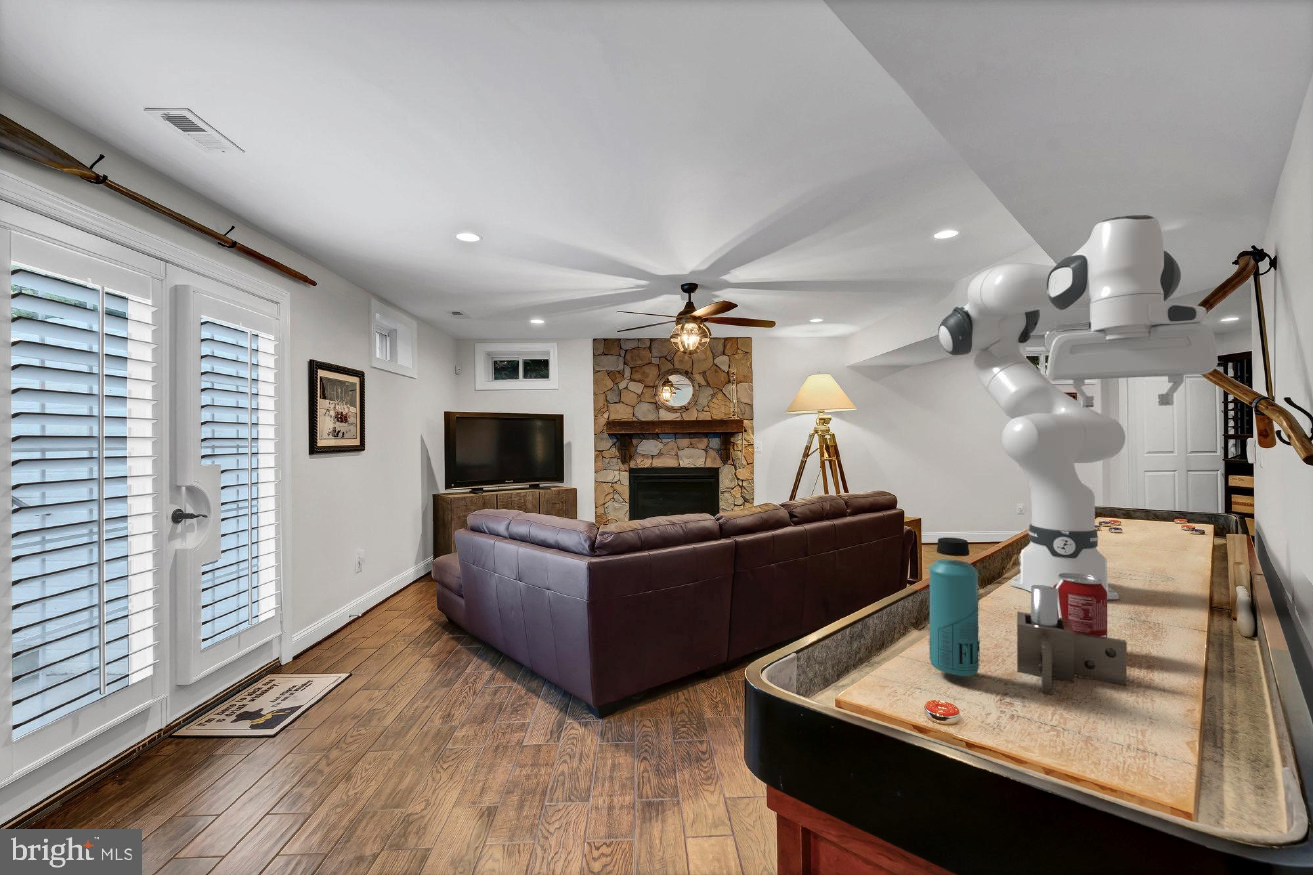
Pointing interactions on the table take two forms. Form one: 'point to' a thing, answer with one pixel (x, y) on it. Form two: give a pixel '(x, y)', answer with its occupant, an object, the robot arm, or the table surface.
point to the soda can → (1082, 603)
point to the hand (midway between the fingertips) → (1125, 406)
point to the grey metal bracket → (1068, 654)
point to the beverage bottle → (954, 611)
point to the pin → (1044, 606)
